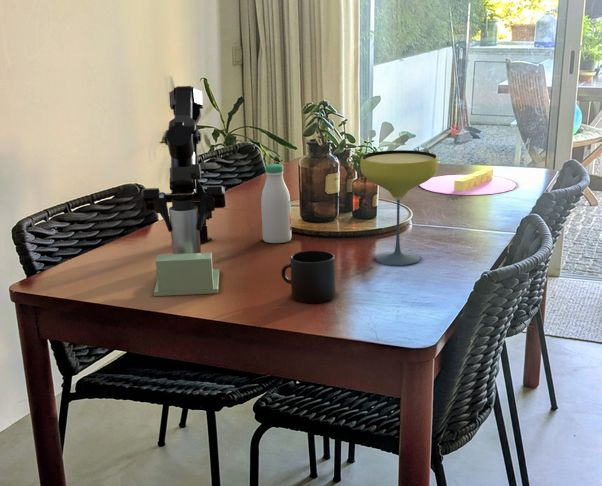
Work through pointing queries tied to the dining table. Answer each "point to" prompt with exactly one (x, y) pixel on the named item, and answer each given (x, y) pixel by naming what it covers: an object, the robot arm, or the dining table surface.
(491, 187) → the platter
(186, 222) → the steel travel tumbler
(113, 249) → the dining table surface
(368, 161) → the cocktail glass
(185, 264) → the pale green butter dish
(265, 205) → the milk bottle
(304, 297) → the mug
